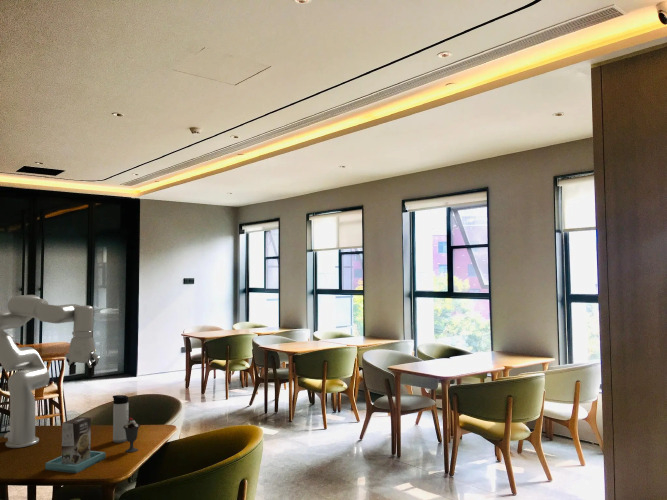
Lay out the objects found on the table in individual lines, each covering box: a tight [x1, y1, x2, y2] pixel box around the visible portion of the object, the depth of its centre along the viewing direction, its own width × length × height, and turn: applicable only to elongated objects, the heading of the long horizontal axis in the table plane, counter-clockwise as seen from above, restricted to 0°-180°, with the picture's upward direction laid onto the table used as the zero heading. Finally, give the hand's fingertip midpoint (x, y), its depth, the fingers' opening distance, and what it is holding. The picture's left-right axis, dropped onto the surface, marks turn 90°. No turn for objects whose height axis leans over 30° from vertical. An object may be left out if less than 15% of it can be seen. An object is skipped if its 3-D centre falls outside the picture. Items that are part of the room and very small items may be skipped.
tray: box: [44, 450, 107, 474], centre depth 211 cm, size 14×16×2 cm
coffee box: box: [61, 416, 92, 465], centre depth 211 cm, size 9×6×16 cm
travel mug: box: [112, 394, 129, 444], centre depth 240 cm, size 6×7×20 cm
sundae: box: [123, 413, 141, 454], centre depth 227 cm, size 7×7×15 cm
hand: (81, 375), depth 230 cm, fingers open, 9 cm apart
